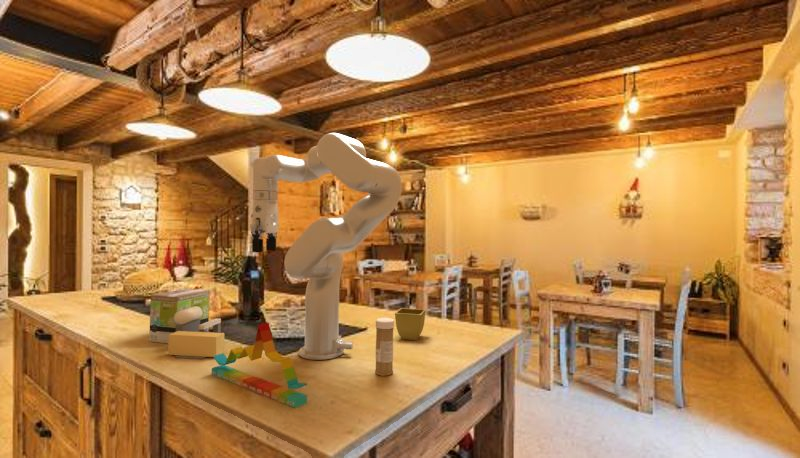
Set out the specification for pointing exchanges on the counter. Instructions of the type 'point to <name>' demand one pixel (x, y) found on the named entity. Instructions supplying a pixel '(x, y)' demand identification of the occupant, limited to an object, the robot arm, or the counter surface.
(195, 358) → the mat
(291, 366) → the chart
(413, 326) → the flower pot
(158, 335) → the tea box
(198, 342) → the tan wooden block
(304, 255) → the robot arm
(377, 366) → the sprinkles bottle
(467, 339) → the counter surface
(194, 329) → the dispenser
